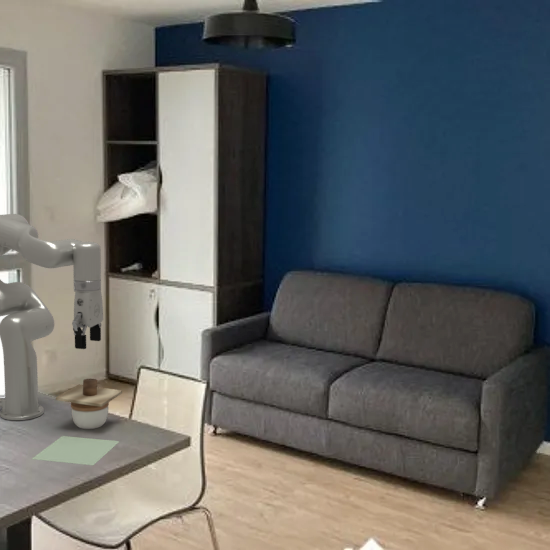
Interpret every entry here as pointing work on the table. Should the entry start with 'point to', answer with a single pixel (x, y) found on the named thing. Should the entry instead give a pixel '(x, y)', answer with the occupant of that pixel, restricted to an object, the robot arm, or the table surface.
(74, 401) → the cover
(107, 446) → the mat
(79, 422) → the lidded jar
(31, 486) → the table surface
